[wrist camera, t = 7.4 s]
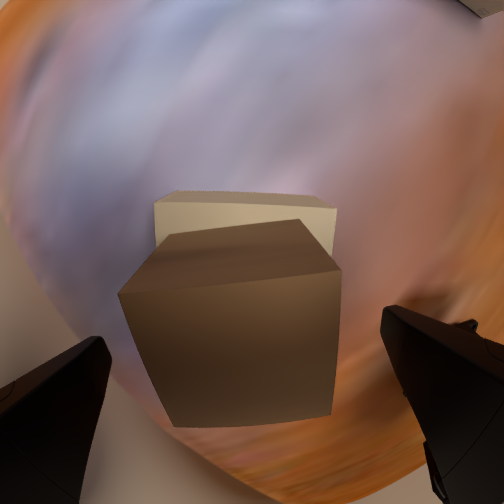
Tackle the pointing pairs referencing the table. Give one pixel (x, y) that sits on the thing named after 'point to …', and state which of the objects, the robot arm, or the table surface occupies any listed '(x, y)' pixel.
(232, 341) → the walnut cube
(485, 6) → the light bulb box
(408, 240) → the table surface
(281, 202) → the cream block
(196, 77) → the table surface
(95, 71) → the table surface
